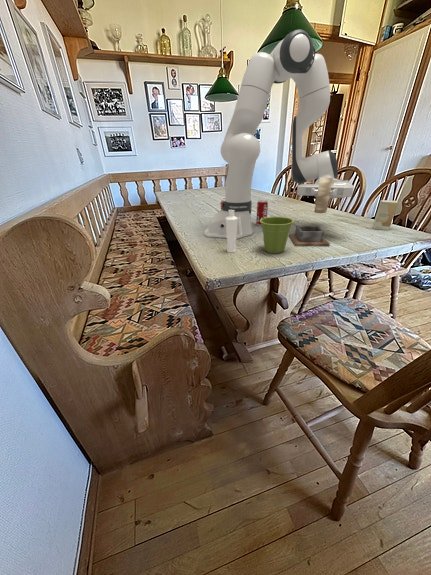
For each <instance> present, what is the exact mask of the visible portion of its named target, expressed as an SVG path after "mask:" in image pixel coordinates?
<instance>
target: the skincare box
mask: <svg viewBox="0 0 431 575" xmlns="http://www.w3.org/2000/svg"><path fill="white" fill-rule="evenodd" d="M398 205H399V202H398V201H397V200H386V199H385V200H384V199H380V201H379V205H378V208H377V211H376V214H375V218H374V220H373V225H372V228H373V229H374V230H381V231H382V230H384V231H389V230H390V229H391V228H390V227H391V224H392V223H393V219H394V216H395V213H396V212H397V211H396V210H397V207H398Z"/></svg>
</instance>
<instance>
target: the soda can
mask: <svg viewBox="0 0 431 575" xmlns="http://www.w3.org/2000/svg"><path fill="white" fill-rule="evenodd" d="M268 209H269V202H268V199H258V201H257V203H256V221H255V222H256V223H255V224H256V225H257V226H260V227H262V225H261V222H260V220H261V219H263V218H267V217H268Z"/></svg>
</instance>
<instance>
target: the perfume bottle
mask: <svg viewBox="0 0 431 575" xmlns="http://www.w3.org/2000/svg"><path fill="white" fill-rule="evenodd" d="M234 211H235V210H229V216H228V217H226V218H225V220H226V234H227V238H226V252H227V253H236V251H237V247H236V245H237V239H236V236H237V224H238V218H237V217H235V216H234Z"/></svg>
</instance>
